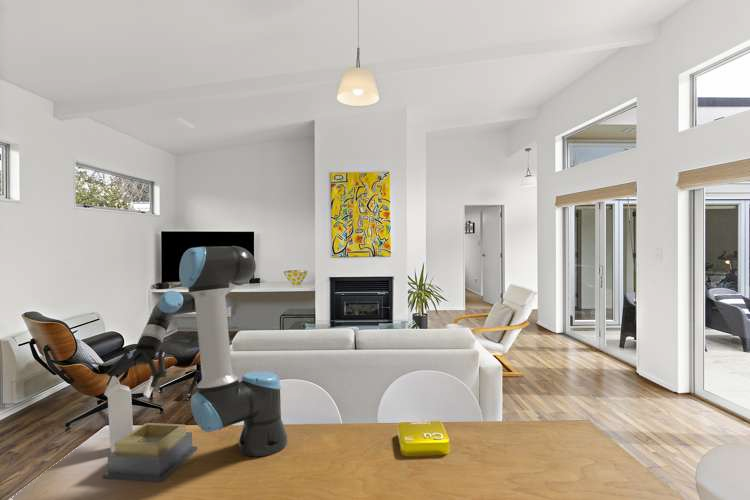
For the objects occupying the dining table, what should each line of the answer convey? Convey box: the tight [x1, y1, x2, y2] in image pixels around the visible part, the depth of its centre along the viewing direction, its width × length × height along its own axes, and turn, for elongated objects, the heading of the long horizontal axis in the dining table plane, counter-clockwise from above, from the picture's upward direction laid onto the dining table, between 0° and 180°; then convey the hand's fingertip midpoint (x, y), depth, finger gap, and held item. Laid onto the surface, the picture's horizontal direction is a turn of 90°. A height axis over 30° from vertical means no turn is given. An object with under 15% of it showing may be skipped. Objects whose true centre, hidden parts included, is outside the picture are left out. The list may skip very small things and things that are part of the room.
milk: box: [107, 380, 134, 454], centre depth 137 cm, size 6×6×22 cm
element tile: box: [397, 420, 451, 457], centre depth 136 cm, size 15×15×5 cm
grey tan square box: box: [102, 422, 198, 483], centre depth 128 cm, size 18×18×9 cm
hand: (126, 396), depth 142 cm, fingers open, 13 cm apart
